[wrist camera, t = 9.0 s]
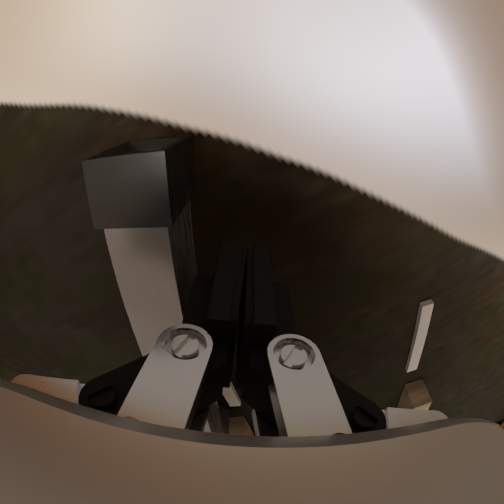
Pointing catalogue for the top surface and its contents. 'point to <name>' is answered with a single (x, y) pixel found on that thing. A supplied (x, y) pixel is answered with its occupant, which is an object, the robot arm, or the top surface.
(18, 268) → the top surface
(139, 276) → the retention gate
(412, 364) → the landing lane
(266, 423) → the robot arm
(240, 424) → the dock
